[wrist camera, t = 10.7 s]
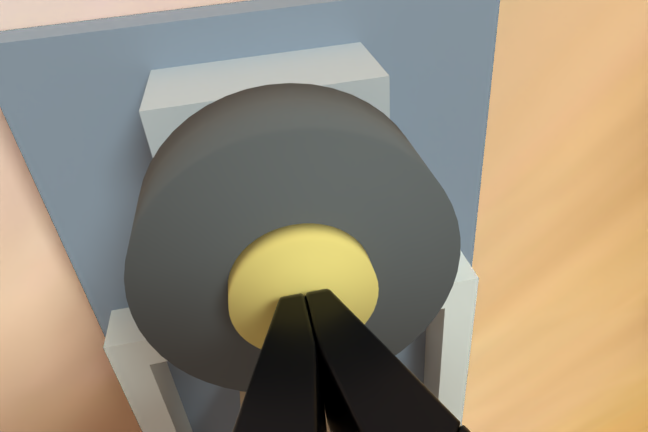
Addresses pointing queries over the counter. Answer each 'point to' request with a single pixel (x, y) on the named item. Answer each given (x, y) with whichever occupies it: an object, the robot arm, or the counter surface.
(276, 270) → the wheel
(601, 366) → the counter surface
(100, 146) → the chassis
